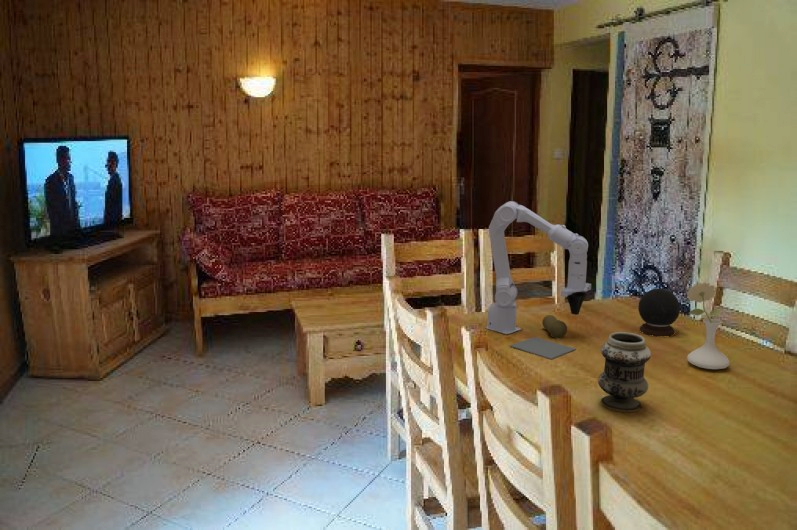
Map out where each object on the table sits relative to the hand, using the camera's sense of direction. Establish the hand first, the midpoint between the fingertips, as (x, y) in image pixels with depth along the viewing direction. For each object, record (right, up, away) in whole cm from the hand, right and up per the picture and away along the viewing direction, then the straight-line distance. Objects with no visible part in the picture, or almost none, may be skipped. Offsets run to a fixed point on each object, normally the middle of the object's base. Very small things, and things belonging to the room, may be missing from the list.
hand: (574, 313), depth 217 cm
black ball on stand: (+30, -7, +7) cm, 31 cm away
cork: (-6, -5, -1) cm, 8 cm away
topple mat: (-13, -10, -10) cm, 19 cm away
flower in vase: (+31, -14, -25) cm, 42 cm away
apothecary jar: (-2, -19, -51) cm, 55 cm away
